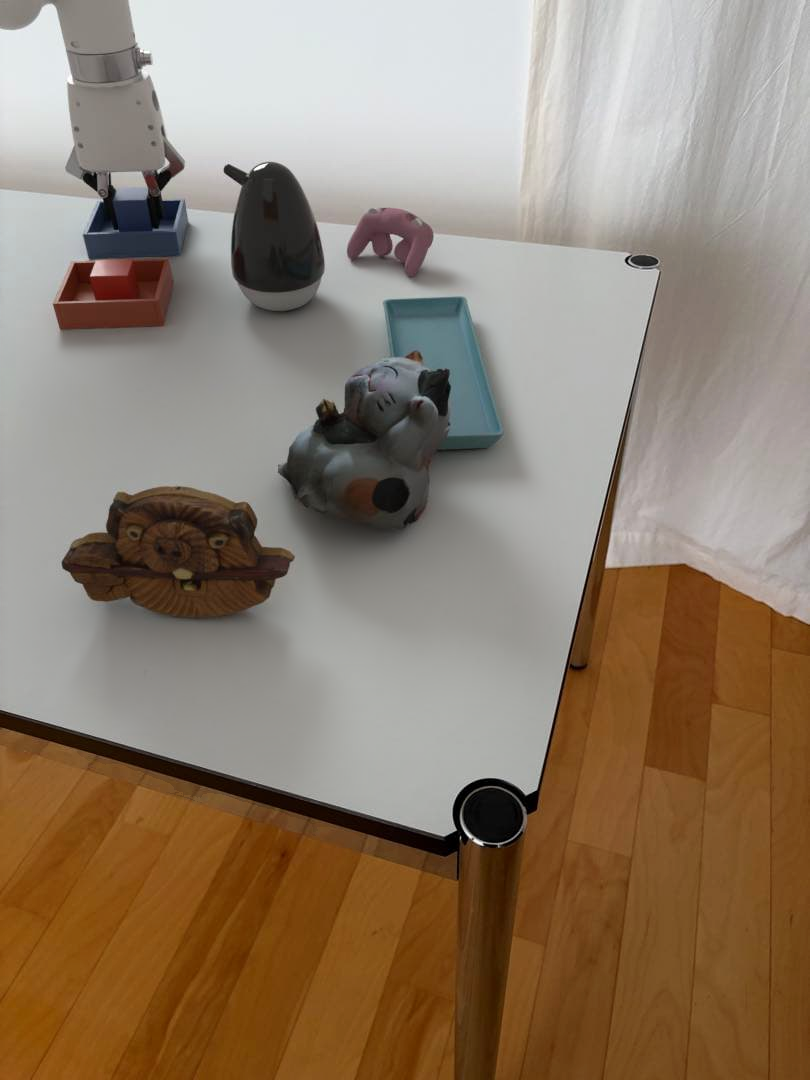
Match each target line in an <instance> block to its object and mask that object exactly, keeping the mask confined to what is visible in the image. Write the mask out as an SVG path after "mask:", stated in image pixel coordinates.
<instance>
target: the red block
mask: <svg viewBox="0 0 810 1080" xmlns="http://www.w3.org/2000/svg"><path fill="white" fill-rule="evenodd" d="M133 259H134V258H113V259H112V258H105V259H95V261H96V262H95V264H94V267H93V269H92V272H91V274H90V280H91V284H92V288H93V292H94V296H95V300H96V301H97V300H129V299H138V297H139V293H140V290H139V285H138V280H137V276H136V271H135V266H134V261H133Z"/></svg>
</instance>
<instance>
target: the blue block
mask: <svg viewBox="0 0 810 1080" xmlns="http://www.w3.org/2000/svg"><path fill="white" fill-rule="evenodd" d="M116 191H117V192H116V194H115V197H114V199H113V206H114V210H115V215H116V219H117V224H118V228H119V232H138V231H153V227H152V223H151V218H150V213H149V207H148V202H147V195H148V187H147V186H146V187H118V188H117V189H116Z"/></svg>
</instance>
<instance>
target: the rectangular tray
mask: <svg viewBox="0 0 810 1080" xmlns="http://www.w3.org/2000/svg"><path fill="white" fill-rule="evenodd" d="M382 305H383V311H384V317H385V325H386V330H387V339H388V345H389V346H388V347H389V352H390V358H393V357H403V358H404V357H406V356H407V355H409V354H410V353H411V352H413V351H415V350H417V351H419V352H420V353H421V356H422V359H423V365H424V366H425V367H427V368H429V369H430V370H432V371H436V370H437V369H449V370H450V375H449V379H448V381H449V384H450V385H451V391H450V395H449V403H450V405H451V413H450V417H449V422H450V424H451V427H450V430H449V433H448V435H447V437H446V439H445V440H444V441H443V442H442V444H441V445H440V446H439V448H438V449H437V450H436V451H441V450H443V451H444V450H464V449H465V450H466V449H488V448H490V447H493V445H495V443H497V442H498V441H499V440H500V439H501V438H502V436H503V435H504V434H505V430H504V426H503V424H502V420H501V417H500V414H499V410H498V407H497V403H496V400H495V396H494V393H493V389H492V387H491V382H490V379H489V376H488V372H487V369H486V365H485V361H484V358H483V353H482V351H481V350H482V349H481V347H480V344H479V339H478V336H477V332H476V330H475V325H474V321H473V318H472V314H471V311H470V308H469V304H468V300H467V298H466V297H465V296H462V295H461V296H460V295H459V296H458V295H457V296H432V297H411V298H410V297H409V298H389V299H387V298H386V299H385V300H383V301H382Z"/></svg>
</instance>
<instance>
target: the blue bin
mask: <svg viewBox="0 0 810 1080" xmlns="http://www.w3.org/2000/svg"><path fill="white" fill-rule="evenodd" d="M162 202H163V207H164V213H165V217H164V219H161V222H160V225H159V229H154V228H153V231H138V232H119V230H114V228H113V223H112V221H108V219H107V215H106V211H105V206H104V202H103V200H96V203H95V206H94V208H93V210H92V213H91V215H90V217H89V219H88V221H87V223H86V226H85V228H84V231H83V233H82V237H83V241H84V245H85V249H86V253H87V258H88V259H112V258H142V257H144V258H145V257H178V256H179V257H180V256H181V254H182V250H183V245H184V241H185V236H186V232H187V229H188V224H189V217H188V211H187V210H188V209H187V204H186V200H185V198H164V199H163V198H162Z"/></svg>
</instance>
